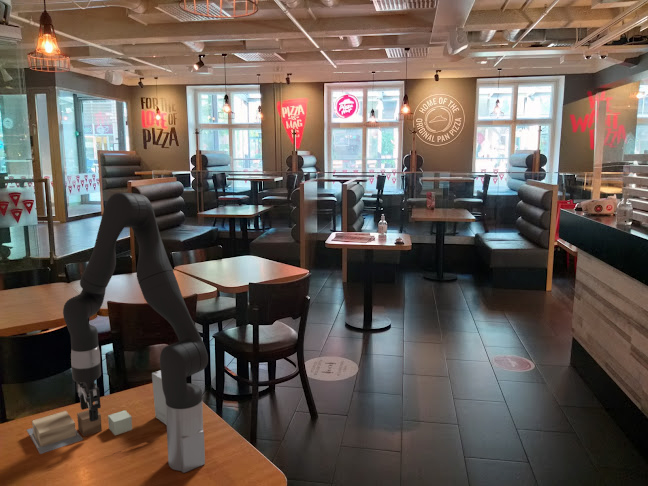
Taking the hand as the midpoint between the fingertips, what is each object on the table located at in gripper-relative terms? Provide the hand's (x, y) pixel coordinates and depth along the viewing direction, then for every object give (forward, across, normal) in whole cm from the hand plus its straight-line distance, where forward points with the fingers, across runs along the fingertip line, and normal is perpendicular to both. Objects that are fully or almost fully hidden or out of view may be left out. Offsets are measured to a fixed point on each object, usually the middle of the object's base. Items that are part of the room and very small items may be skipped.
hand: (89, 414), depth 149 cm
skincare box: (+6, -7, -21) cm, 23 cm away
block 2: (+6, -6, -7) cm, 10 cm away
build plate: (+6, +3, +9) cm, 11 cm away
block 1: (+6, -1, 0) cm, 6 cm away
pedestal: (+5, +3, +9) cm, 11 cm away
